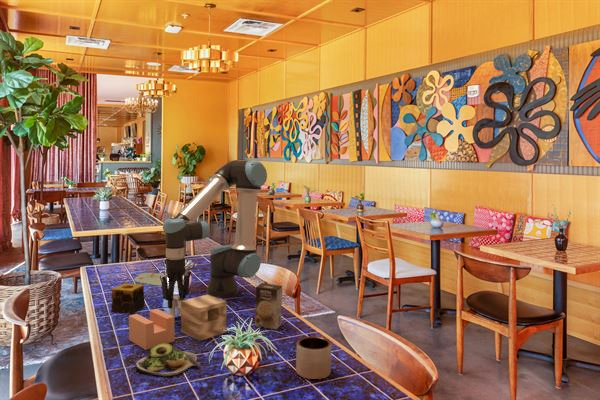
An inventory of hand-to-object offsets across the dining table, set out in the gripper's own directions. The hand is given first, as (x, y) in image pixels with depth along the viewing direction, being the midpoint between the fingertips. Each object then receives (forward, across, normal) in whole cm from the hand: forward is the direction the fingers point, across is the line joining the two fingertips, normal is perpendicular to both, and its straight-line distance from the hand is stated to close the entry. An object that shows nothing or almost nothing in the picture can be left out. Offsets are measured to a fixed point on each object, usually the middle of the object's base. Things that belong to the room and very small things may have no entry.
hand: (176, 314), depth 188 cm
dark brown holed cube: (+2, -8, +25) cm, 26 cm away
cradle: (+2, -18, -13) cm, 23 cm away
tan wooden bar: (-4, 0, -8) cm, 9 cm away
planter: (+2, +4, -71) cm, 71 cm away
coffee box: (+2, +21, -32) cm, 38 cm away
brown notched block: (+2, 0, -20) cm, 20 cm away
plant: (+3, +26, +60) cm, 66 cm away
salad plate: (+2, -25, -33) cm, 41 cm away
